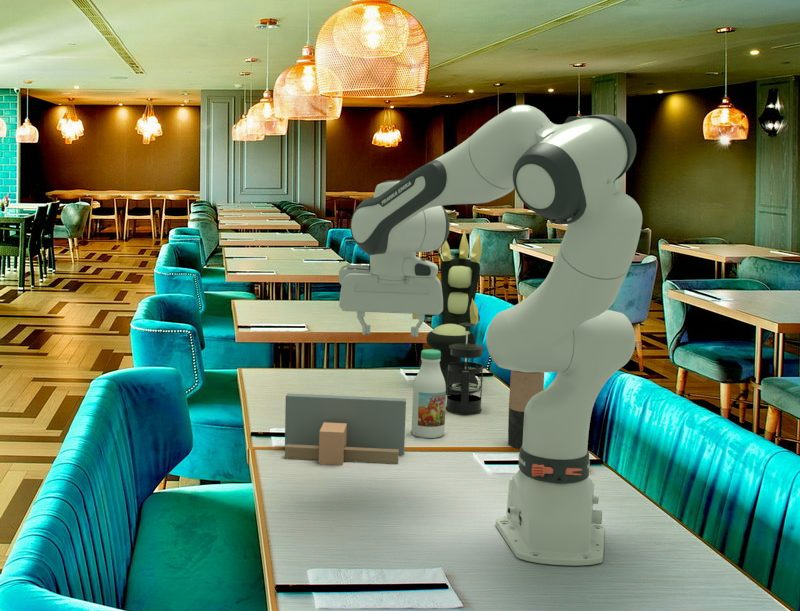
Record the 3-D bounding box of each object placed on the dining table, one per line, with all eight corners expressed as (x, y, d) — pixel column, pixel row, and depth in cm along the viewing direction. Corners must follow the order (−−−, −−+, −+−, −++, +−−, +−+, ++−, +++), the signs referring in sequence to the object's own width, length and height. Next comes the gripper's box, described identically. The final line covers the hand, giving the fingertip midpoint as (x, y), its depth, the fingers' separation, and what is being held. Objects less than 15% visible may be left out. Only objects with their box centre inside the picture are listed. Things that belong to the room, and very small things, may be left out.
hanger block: (342, 465, 189) (343, 432, 188) (318, 463, 190) (319, 431, 188) (346, 454, 196) (346, 423, 195) (323, 453, 196) (323, 422, 195)
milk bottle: (405, 435, 212) (408, 351, 209) (420, 427, 219) (423, 346, 216) (435, 440, 209) (439, 355, 206) (449, 432, 216) (453, 350, 213)
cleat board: (402, 463, 191) (404, 408, 190) (280, 458, 192) (280, 402, 191) (404, 451, 200) (406, 398, 198) (286, 446, 201) (287, 393, 199)
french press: (445, 404, 242) (449, 319, 239) (480, 405, 242) (484, 320, 239) (445, 415, 231) (449, 326, 227) (482, 417, 230) (486, 328, 227)
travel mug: (539, 451, 204) (544, 363, 201) (505, 447, 205) (509, 361, 202) (541, 441, 211) (546, 357, 208) (508, 438, 213) (512, 354, 210)
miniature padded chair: (406, 391, 255) (411, 231, 249) (428, 375, 276) (434, 227, 269) (471, 398, 249) (479, 234, 243) (489, 382, 270) (497, 230, 264)
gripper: (337, 264, 173) (335, 336, 175) (444, 268, 172) (441, 340, 174) (340, 261, 179) (339, 330, 181) (444, 265, 178) (441, 334, 180)
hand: (390, 335), depth 177 cm, fingers open, 8 cm apart
